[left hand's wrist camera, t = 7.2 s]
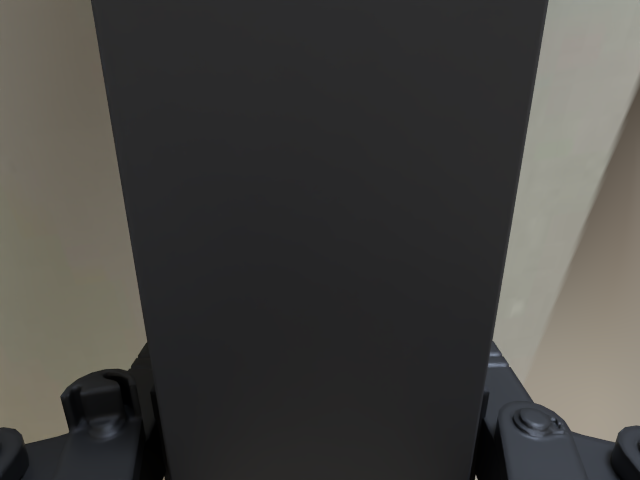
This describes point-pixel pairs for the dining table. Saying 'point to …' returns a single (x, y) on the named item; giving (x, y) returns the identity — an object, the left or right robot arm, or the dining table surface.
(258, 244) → the bar
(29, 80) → the dining table surface
